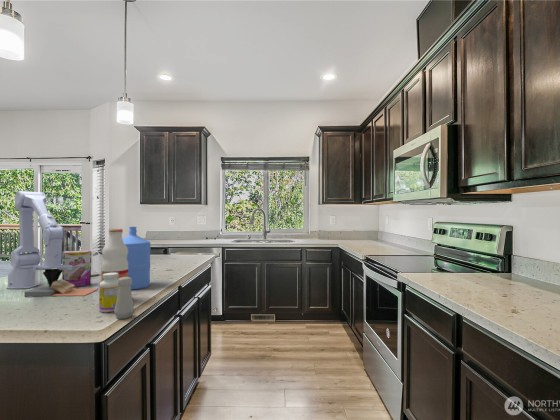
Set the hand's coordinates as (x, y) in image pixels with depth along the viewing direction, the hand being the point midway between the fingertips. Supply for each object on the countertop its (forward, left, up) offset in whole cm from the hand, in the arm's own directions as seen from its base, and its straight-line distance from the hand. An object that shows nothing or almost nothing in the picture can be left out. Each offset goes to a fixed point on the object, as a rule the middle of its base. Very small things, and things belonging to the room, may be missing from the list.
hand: (52, 287), depth 132 cm
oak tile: (+4, 0, -1) cm, 4 cm away
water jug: (+29, +11, -3) cm, 31 cm away
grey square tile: (-2, 0, -2) cm, 3 cm away
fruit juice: (+31, -12, -3) cm, 33 cm away
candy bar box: (+3, +13, -3) cm, 13 cm away
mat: (+9, 0, -2) cm, 10 cm away
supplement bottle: (+35, -25, -3) cm, 43 cm away
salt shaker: (+43, -33, -3) cm, 54 cm away
